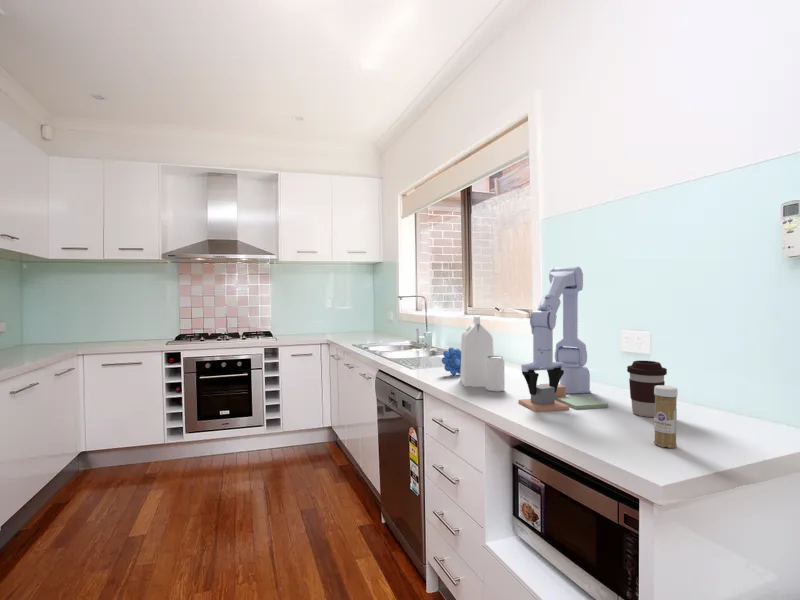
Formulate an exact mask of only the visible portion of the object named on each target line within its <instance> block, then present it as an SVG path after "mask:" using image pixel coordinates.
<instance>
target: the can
mask: <svg viewBox="0 0 800 600" xmlns="http://www.w3.org/2000/svg"><path fill="white" fill-rule="evenodd" d="M505 382H506V381H505V360H504V357H503V356H501V355H494V356H488V358H487V360H486V387H485V388H486V390H487V391H488V392H492V393H493V392H495V393H498V392H504V391H505V385H506V384H505Z"/></svg>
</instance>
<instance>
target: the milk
mask: <svg viewBox="0 0 800 600" xmlns="http://www.w3.org/2000/svg"><path fill="white" fill-rule="evenodd" d="M460 346H461V347H460V348H461V349H460V351H461V374H459V375H460V383H461V384H462V386H463V385H464V386H463V387H464V388H465V387H467V386H472V387H474V388H475V387H480V388H481V387H482V388H483V387H485V388H486V360H487V358H488V356H495V355H494V339H493V335H492V334H491V333H490V332H489V331H488V330H487V329H486V328H485V327H484V326H483V325H482V324H481V316H479V315H474V316H473V323H471V324H468V325H467V326H466V328H465V329H464V331H463V333H461V344H460ZM467 388H468V387H467Z"/></svg>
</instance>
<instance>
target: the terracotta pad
mask: <svg viewBox="0 0 800 600" xmlns="http://www.w3.org/2000/svg"><path fill="white" fill-rule="evenodd" d="M517 402H518V404H519V405H521V406H524V407H525V408H527V409H529V410H531V411H533V412H535V413H537V412H551V411H565V410H566V411H568V410H570V407H569V406H568V405H565V404H563V403H561V402H558V401H556V400H555V404H548V405H539V404H536V403H533V402H531V398H528V399H527V398H526V399H518V401H517Z"/></svg>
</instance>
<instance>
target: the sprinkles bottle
mask: <svg viewBox="0 0 800 600" xmlns="http://www.w3.org/2000/svg"><path fill="white" fill-rule="evenodd" d="M654 394H655V416H654V417H653V419H654V421H653V422H654V425H653V426H654V429H653V430H654V440H653V443H654V445H655V444H656V445H655V446H657V445H658V446H657V447H660V446H661V448H664V447H668V448H667V449H675V448H677V446H678V445H677V428H678V427H677V426H678V425H677V423H678V422H677V417H678V416H677V415H678V414H677V409H678V408H677V400H678V399H677V398H678V388H677V386H676V387H675V386H672V385H666V384H665V385H657V386H655V387H654ZM674 447H675V448H674Z"/></svg>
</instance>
